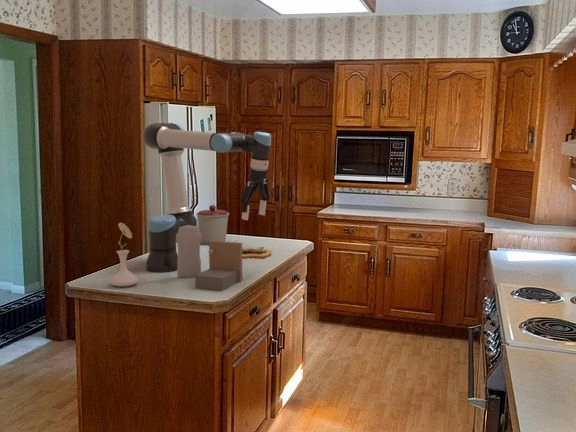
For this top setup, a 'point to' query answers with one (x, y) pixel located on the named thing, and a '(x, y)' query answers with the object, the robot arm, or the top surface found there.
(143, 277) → the top surface
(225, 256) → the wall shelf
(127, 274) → the flower in vase
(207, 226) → the canister
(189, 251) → the pale grey bottle shape
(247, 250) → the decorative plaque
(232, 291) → the top surface
